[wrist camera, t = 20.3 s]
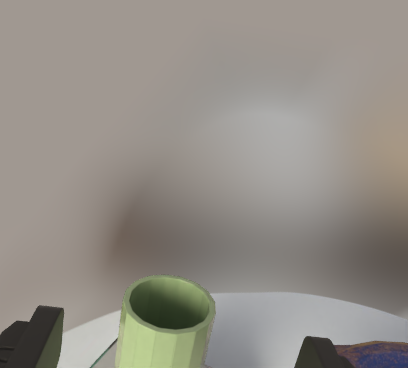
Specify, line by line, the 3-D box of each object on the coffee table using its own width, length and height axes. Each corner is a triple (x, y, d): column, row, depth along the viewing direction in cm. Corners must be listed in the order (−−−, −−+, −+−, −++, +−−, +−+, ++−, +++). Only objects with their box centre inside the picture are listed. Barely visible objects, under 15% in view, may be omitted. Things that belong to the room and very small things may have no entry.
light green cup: (92, 417, 26) (104, 308, 23) (138, 359, 31) (152, 265, 29) (170, 460, 24) (194, 348, 21) (204, 391, 30) (227, 294, 27)
